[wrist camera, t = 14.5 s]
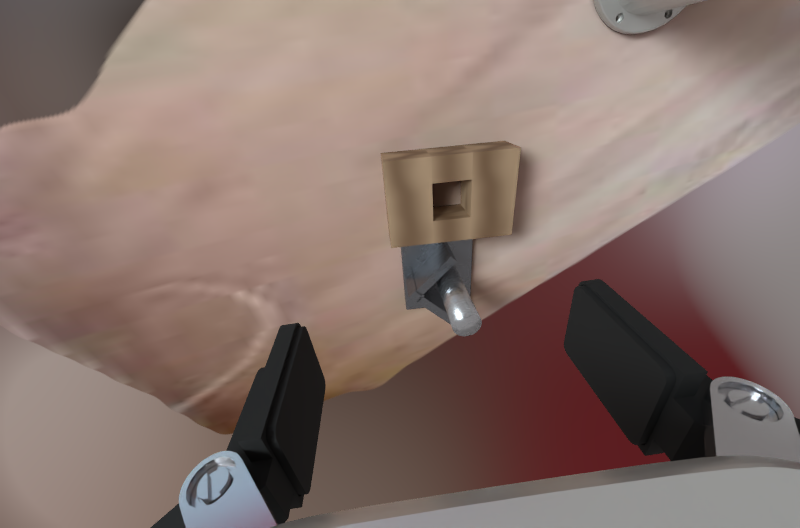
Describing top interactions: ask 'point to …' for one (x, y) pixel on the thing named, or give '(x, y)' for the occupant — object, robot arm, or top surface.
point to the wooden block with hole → (480, 192)
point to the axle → (458, 304)
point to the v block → (433, 272)
